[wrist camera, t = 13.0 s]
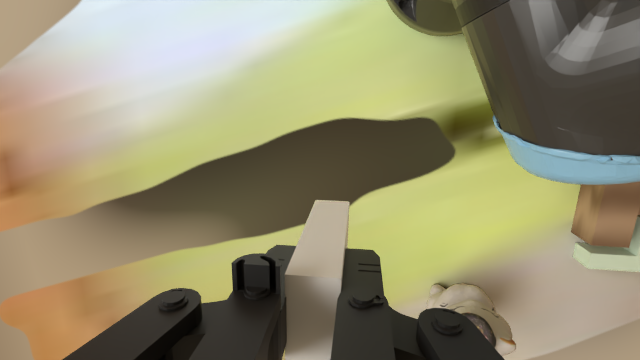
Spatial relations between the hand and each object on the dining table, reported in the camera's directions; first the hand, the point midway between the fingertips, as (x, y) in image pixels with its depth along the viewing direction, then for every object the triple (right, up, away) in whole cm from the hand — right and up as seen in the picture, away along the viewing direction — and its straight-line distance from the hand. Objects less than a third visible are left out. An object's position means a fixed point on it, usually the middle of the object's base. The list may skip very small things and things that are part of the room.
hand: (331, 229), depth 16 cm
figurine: (+17, -13, +32) cm, 38 cm away
